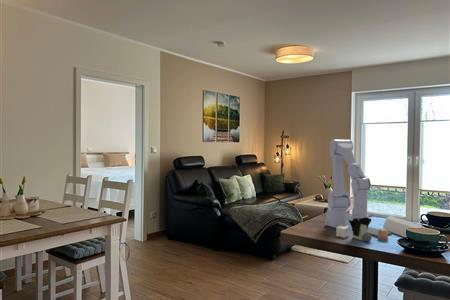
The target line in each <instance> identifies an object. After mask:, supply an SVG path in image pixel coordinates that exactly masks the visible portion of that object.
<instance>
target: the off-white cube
mask: <svg viewBox="0 0 450 300" xmlns="http://www.w3.org/2000/svg"><path fill="white" fill-rule="evenodd" d="M349 228H350V227H344V226H338V227H336V231H335V235H336V237H339V236H340V237H339V238H344V239H345V238H348V237H349V235H350V234H349V231H350V230H349Z"/></svg>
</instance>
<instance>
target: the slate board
mask: <svg viewBox="0 0 450 300" xmlns="http://www.w3.org/2000/svg"><path fill="white" fill-rule="evenodd" d="M378 229H379V228H375V227H370V226H368V228H367V231H366V233H368V234H370V235H371V237H375V238H378ZM392 234H393V232H390V231H388V237H389V236H392Z"/></svg>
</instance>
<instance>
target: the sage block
mask: <svg viewBox="0 0 450 300" xmlns="http://www.w3.org/2000/svg"><path fill="white" fill-rule="evenodd" d="M366 230H367V225H364V224H361V225H360V229H359V236H355V235H353V234H352V238H353V239H356V240H359V241H361V240H363V238H362V236H363V234H365V233H366Z"/></svg>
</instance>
